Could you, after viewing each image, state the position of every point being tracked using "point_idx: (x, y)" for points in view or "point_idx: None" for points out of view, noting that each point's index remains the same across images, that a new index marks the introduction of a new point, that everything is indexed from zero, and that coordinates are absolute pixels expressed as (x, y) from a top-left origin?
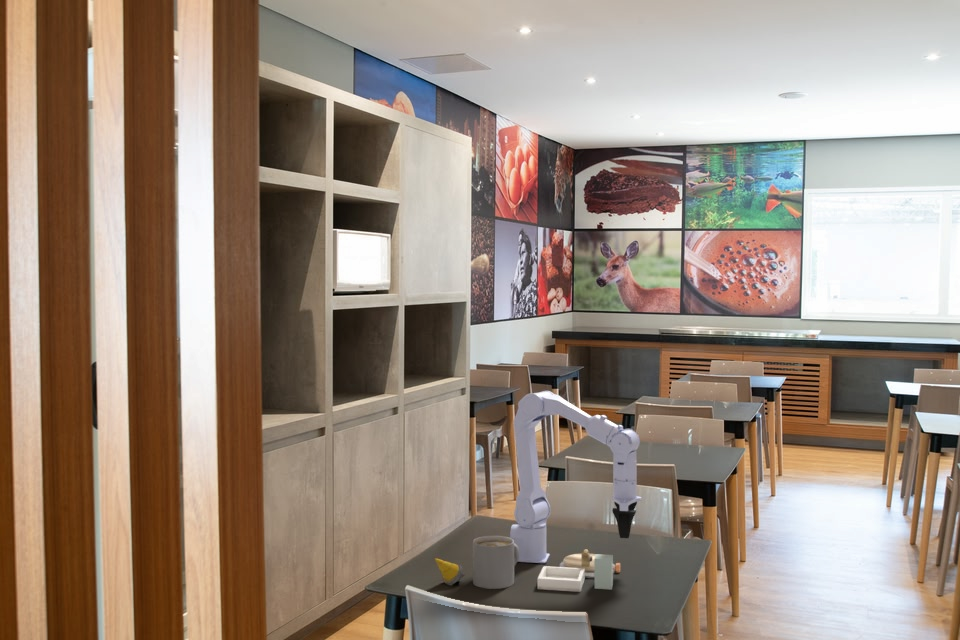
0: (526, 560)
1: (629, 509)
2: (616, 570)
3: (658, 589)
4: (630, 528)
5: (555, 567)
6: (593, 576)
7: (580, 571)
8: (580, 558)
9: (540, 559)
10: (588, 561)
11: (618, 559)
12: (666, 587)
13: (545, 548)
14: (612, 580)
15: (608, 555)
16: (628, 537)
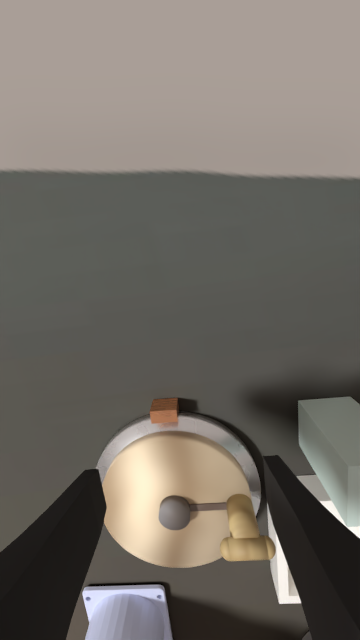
0: (167, 628)
1: (16, 635)
2: (178, 410)
3: (320, 260)
4: (315, 497)
5: (285, 575)
6: (253, 461)
7: None
8: (164, 528)
9: (151, 603)
10: (251, 511)
11: (42, 419)
12: (292, 237)
13: (123, 629)
14: (321, 408)
15: (358, 481)
16: (280, 458)
